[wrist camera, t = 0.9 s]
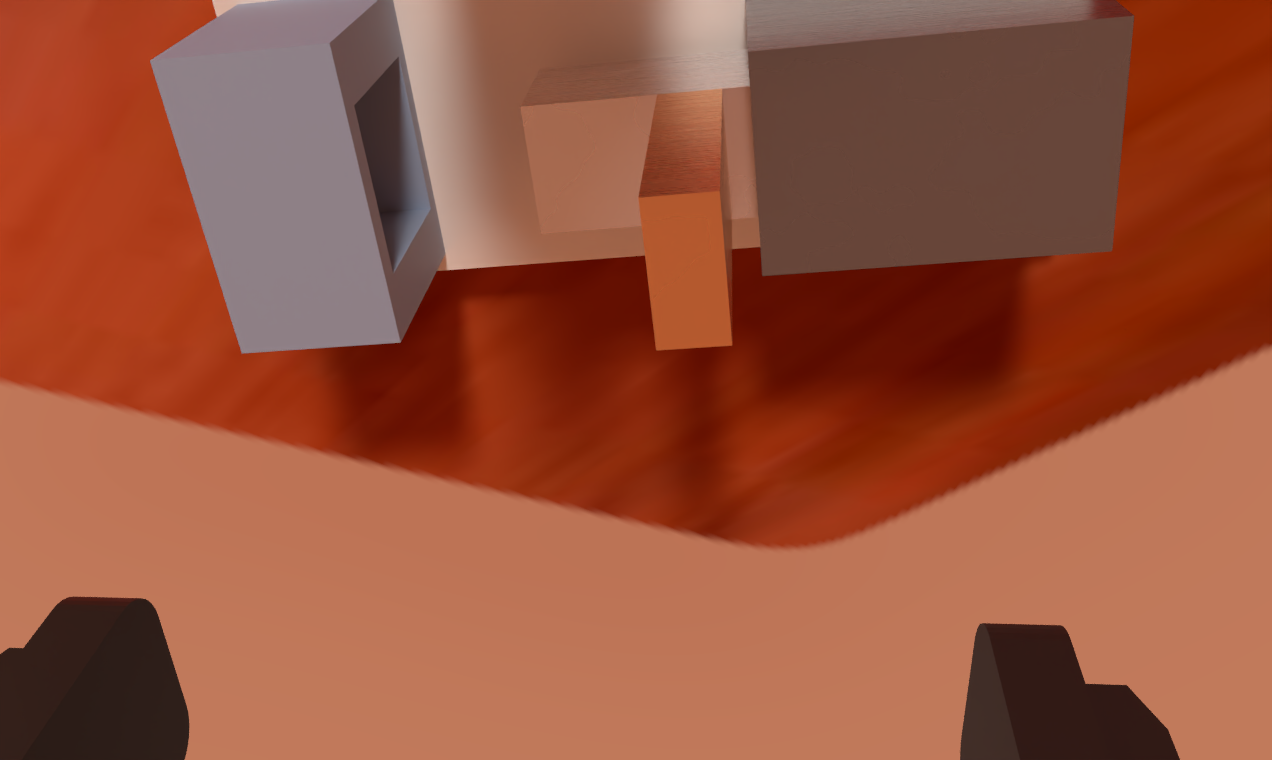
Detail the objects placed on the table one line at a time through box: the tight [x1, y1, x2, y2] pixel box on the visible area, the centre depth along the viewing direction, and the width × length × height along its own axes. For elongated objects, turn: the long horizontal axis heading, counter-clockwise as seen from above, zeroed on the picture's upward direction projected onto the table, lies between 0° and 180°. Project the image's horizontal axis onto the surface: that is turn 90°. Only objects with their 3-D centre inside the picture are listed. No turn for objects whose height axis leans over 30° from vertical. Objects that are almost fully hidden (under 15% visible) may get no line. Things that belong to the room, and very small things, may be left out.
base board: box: [212, 0, 760, 271], centre depth 31 cm, size 21×8×2 cm, turn 96°
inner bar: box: [520, 49, 758, 351], centre depth 25 cm, size 12×3×9 cm, turn 96°
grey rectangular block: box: [745, 0, 1134, 276], centre depth 27 cm, size 8×5×5 cm, turn 96°
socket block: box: [150, 0, 446, 353], centre depth 29 cm, size 4×7×5 cm, turn 6°
